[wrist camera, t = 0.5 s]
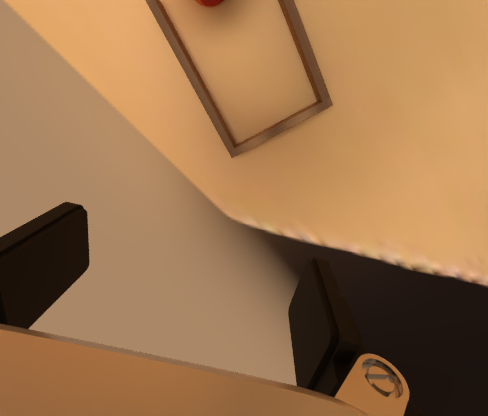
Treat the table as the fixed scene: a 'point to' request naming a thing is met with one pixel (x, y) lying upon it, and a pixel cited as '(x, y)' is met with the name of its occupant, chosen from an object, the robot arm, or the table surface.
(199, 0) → the paper cup
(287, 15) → the u rest
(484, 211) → the table surface
